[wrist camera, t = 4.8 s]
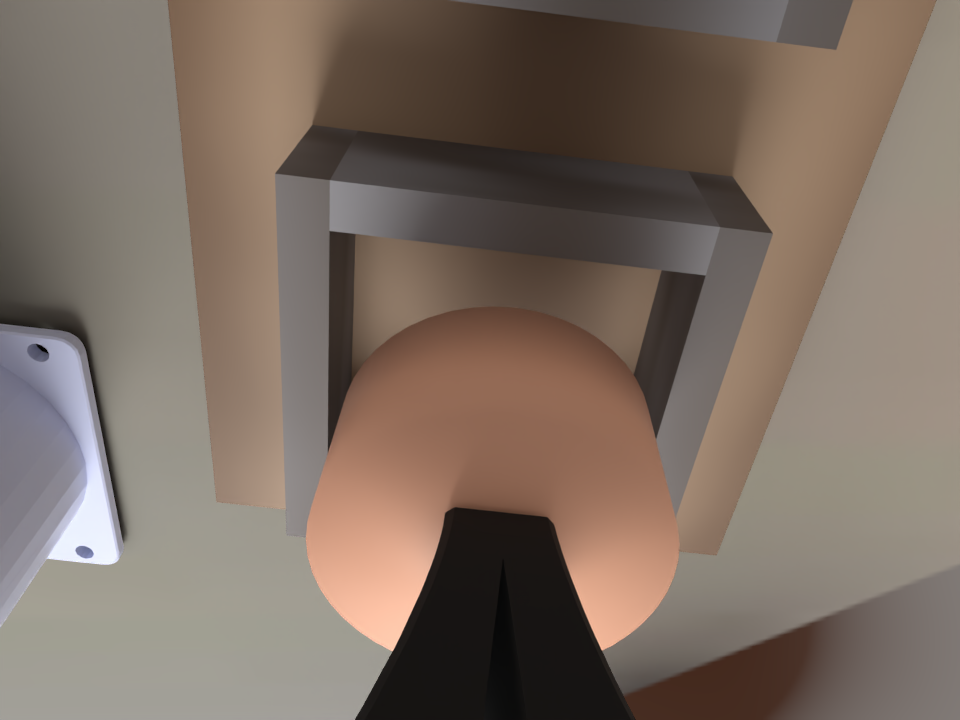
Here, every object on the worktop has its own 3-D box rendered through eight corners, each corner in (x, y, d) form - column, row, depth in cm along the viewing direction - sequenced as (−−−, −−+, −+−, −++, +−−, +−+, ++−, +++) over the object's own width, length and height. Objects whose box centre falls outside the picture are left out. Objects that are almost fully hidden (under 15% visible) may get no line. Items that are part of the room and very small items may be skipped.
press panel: (252, 424, 21) (178, 585, 16) (172, -931, 9) (-150, -1690, 5) (692, 472, 21) (742, 643, 17) (1121, -774, 10) (1661, -1341, 5)
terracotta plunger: (338, 535, 14) (307, 656, 12) (343, 287, 11) (304, 386, 9) (615, 564, 14) (633, 689, 12) (685, 327, 11) (725, 433, 9)
